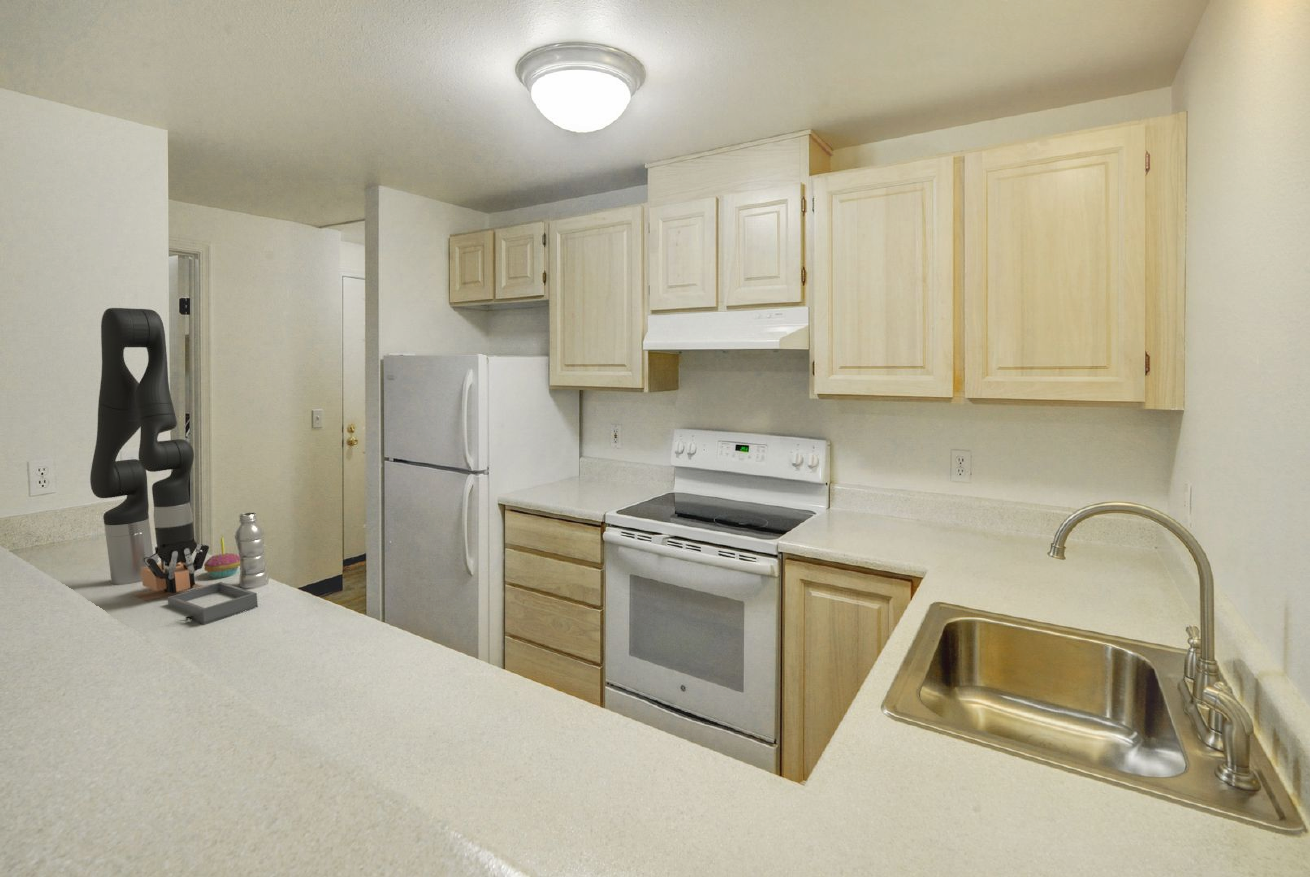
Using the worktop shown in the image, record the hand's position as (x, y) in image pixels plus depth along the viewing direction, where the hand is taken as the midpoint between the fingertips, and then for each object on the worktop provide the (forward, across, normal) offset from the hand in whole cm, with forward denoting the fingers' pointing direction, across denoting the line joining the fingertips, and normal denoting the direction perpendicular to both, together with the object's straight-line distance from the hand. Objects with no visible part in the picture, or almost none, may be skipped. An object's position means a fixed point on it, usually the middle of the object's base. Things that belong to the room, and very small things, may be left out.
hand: (181, 590), depth 161 cm
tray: (+3, -1, +13) cm, 13 cm away
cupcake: (+3, -14, -7) cm, 16 cm away
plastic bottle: (+3, -13, +8) cm, 16 cm away
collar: (0, 0, -5) cm, 5 cm away
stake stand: (+3, 0, -7) cm, 7 cm away
